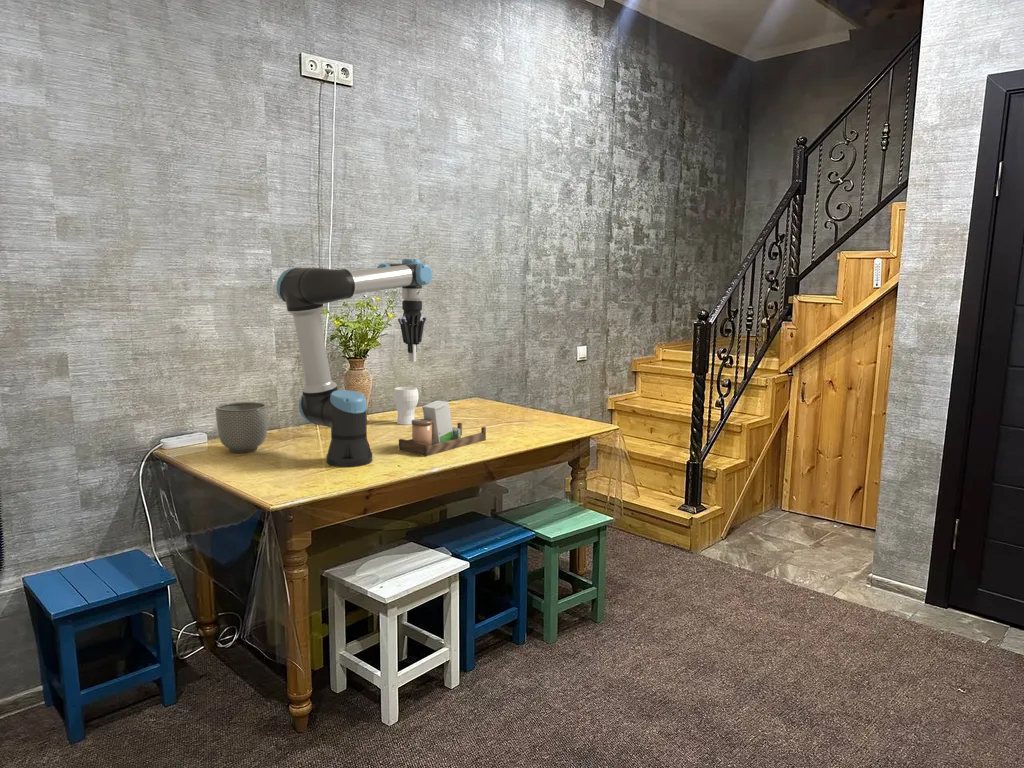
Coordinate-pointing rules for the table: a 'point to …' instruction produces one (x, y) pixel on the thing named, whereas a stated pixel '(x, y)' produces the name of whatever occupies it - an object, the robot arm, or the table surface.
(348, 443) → the robot arm
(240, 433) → the planter
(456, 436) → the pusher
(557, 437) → the table surface
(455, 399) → the table surface
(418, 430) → the jar
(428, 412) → the skincare box
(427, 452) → the frame
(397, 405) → the cup
